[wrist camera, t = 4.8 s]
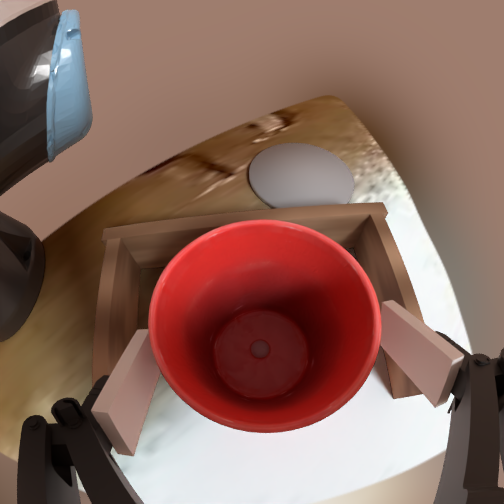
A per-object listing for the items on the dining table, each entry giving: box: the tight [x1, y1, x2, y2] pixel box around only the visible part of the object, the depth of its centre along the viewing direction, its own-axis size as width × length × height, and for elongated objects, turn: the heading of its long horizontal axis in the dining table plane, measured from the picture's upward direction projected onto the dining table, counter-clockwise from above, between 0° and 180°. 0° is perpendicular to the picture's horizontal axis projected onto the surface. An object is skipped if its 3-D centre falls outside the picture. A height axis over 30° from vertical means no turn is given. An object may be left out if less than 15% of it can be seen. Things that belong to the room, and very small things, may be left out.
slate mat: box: [249, 143, 354, 209], centre depth 30 cm, size 12×12×1 cm
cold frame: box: [92, 202, 424, 399], centre depth 19 cm, size 16×24×5 cm, turn 97°
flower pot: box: [148, 219, 382, 433], centre depth 16 cm, size 11×11×10 cm
